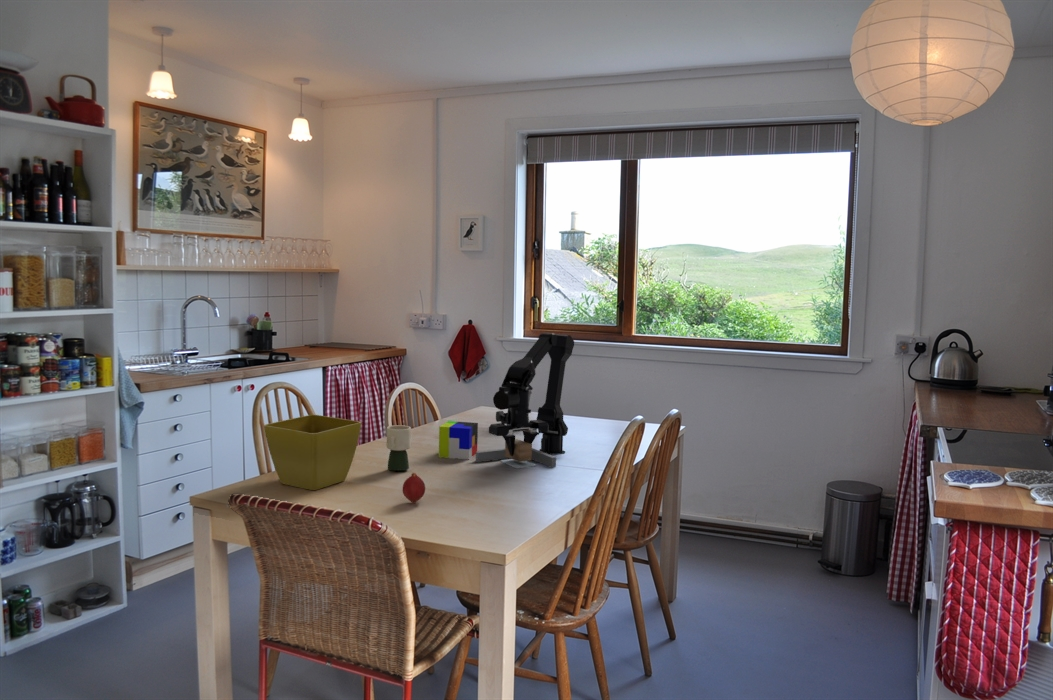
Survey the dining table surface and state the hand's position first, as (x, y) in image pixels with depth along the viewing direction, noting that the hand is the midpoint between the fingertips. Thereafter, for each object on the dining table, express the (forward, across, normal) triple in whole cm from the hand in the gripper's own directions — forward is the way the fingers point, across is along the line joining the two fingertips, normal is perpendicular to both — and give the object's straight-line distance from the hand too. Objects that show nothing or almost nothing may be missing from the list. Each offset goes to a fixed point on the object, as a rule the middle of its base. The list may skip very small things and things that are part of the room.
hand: (518, 454), depth 244 cm
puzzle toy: (+3, +12, -18) cm, 22 cm away
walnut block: (+1, 0, 0) cm, 1 cm away
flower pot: (+3, +62, -7) cm, 63 cm away
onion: (+3, +46, +24) cm, 51 cm away
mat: (+3, 0, 0) cm, 3 cm away
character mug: (+3, +36, -8) cm, 38 cm away
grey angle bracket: (+3, +1, 0) cm, 3 cm away
